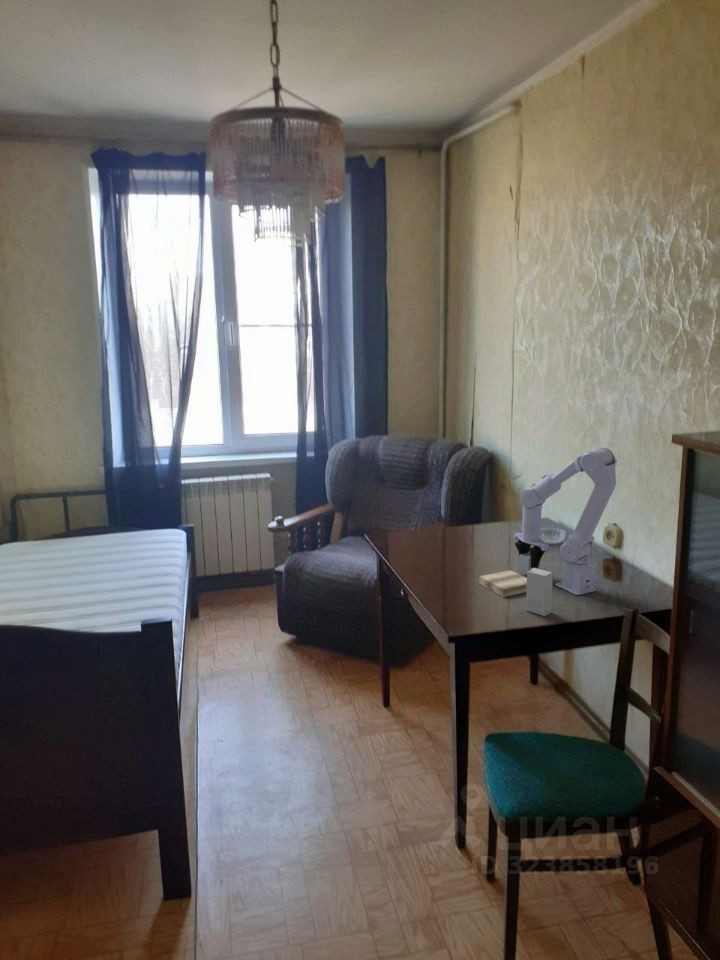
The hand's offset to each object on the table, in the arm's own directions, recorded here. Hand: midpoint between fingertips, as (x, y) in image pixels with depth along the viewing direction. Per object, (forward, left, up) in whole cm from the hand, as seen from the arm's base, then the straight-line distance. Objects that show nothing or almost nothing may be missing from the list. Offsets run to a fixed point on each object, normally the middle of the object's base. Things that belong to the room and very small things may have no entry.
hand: (529, 565), depth 224 cm
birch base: (-5, +13, -3) cm, 14 cm away
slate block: (0, 0, -2) cm, 2 cm away
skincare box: (-24, +17, -3) cm, 30 cm away
